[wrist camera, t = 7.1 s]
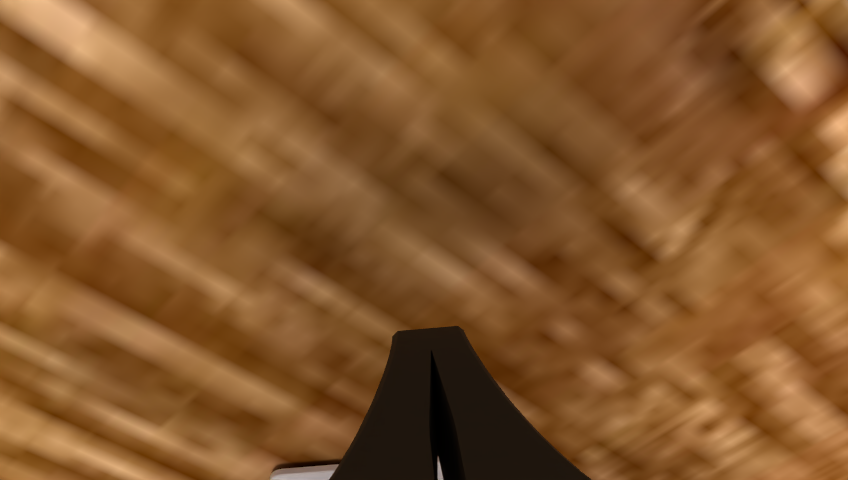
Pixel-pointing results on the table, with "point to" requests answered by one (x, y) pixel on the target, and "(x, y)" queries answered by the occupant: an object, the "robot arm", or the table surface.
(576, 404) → the table surface
